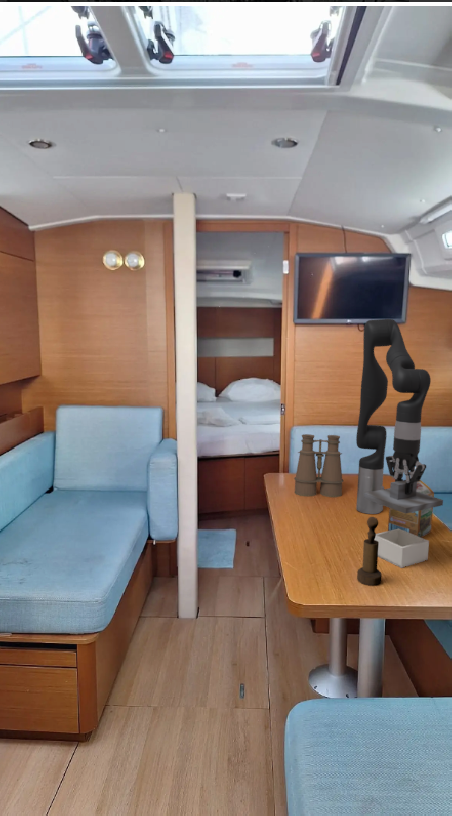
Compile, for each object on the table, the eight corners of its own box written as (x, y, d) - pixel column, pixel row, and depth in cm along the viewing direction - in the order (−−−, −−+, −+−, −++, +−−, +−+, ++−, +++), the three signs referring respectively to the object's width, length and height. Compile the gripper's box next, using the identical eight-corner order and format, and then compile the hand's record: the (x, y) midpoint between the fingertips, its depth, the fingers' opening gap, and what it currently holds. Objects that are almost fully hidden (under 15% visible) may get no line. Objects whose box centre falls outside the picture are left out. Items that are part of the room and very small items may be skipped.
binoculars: (340, 490, 230) (343, 434, 227) (344, 497, 220) (347, 438, 217) (292, 489, 231) (294, 432, 227) (294, 496, 221) (297, 437, 218)
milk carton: (402, 524, 191) (406, 472, 188) (431, 532, 183) (435, 478, 181) (387, 531, 184) (391, 477, 181) (416, 540, 176) (421, 484, 174)
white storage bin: (397, 546, 170) (398, 528, 169) (427, 559, 160) (429, 540, 159) (371, 553, 164) (372, 534, 163) (401, 567, 154) (402, 548, 154)
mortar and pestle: (353, 575, 149) (357, 513, 147) (376, 574, 150) (380, 513, 147) (361, 586, 143) (365, 521, 140) (385, 585, 143) (389, 521, 141)
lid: (400, 491, 171) (401, 472, 170) (442, 505, 157) (444, 485, 156) (363, 498, 163) (364, 478, 162) (405, 513, 149) (407, 492, 148)
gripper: (435, 439, 153) (431, 497, 155) (397, 431, 165) (393, 485, 167) (418, 441, 149) (413, 501, 152) (380, 433, 161) (376, 488, 164)
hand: (403, 492), depth 160 cm, fingers closed on lid, 3 cm apart
